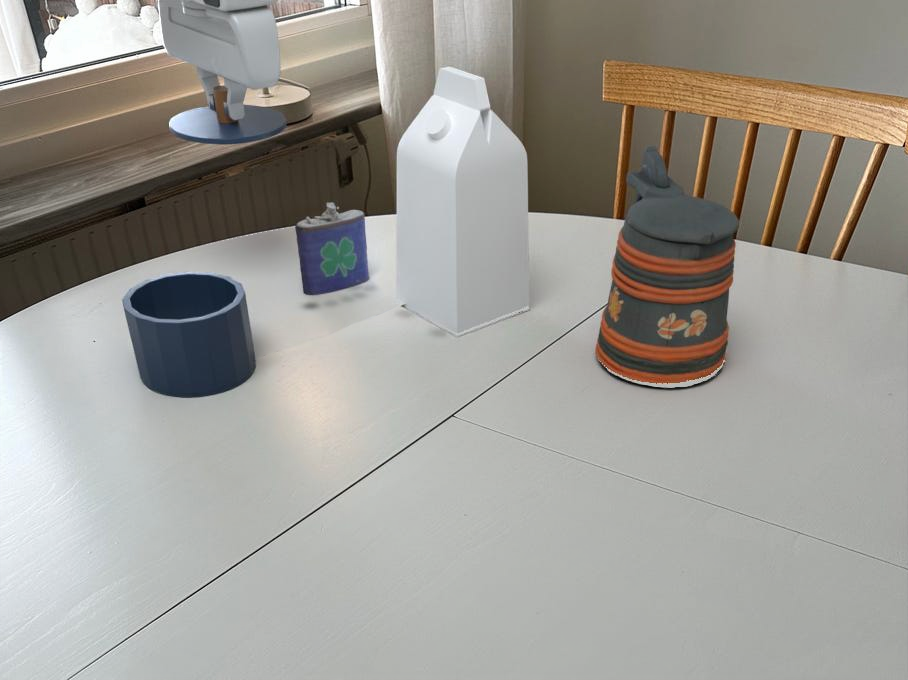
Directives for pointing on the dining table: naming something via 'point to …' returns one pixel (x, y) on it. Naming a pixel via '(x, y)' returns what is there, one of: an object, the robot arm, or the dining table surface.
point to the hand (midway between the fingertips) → (226, 114)
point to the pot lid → (227, 123)
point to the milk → (461, 209)
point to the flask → (332, 251)
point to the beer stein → (668, 282)
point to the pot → (190, 333)
